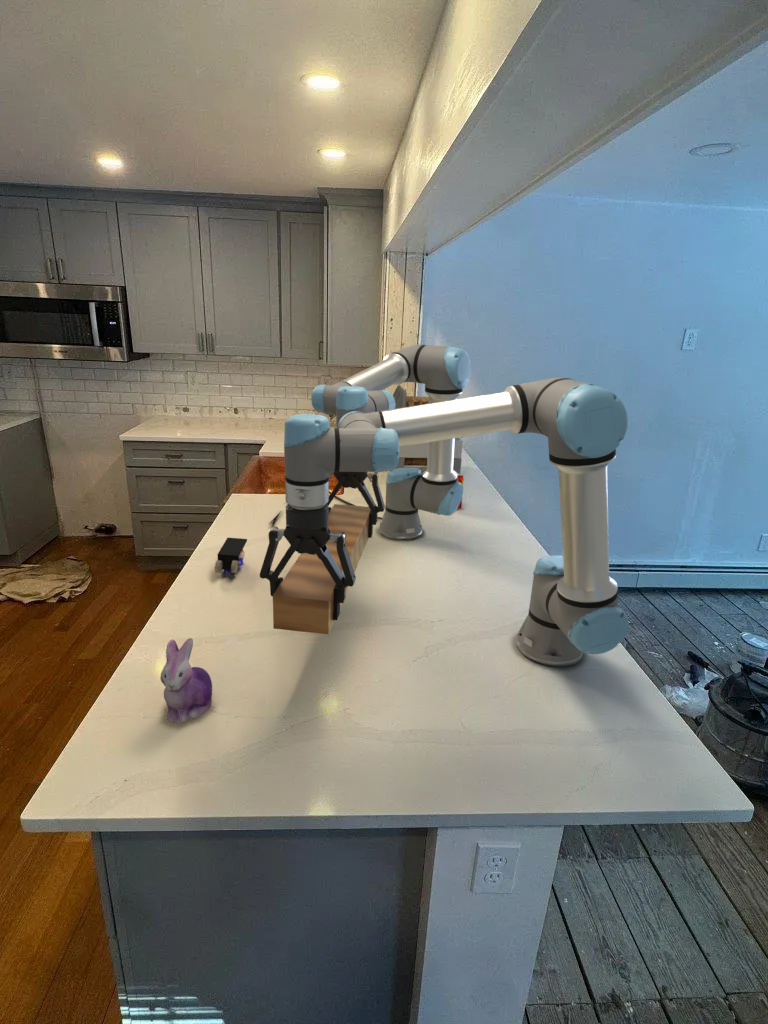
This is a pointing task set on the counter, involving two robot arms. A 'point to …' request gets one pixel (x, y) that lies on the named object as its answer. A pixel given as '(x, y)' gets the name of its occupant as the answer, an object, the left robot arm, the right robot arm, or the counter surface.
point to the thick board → (319, 576)
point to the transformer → (418, 452)
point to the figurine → (184, 684)
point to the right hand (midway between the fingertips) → (308, 613)
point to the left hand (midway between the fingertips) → (349, 534)
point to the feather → (274, 519)
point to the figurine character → (230, 556)
